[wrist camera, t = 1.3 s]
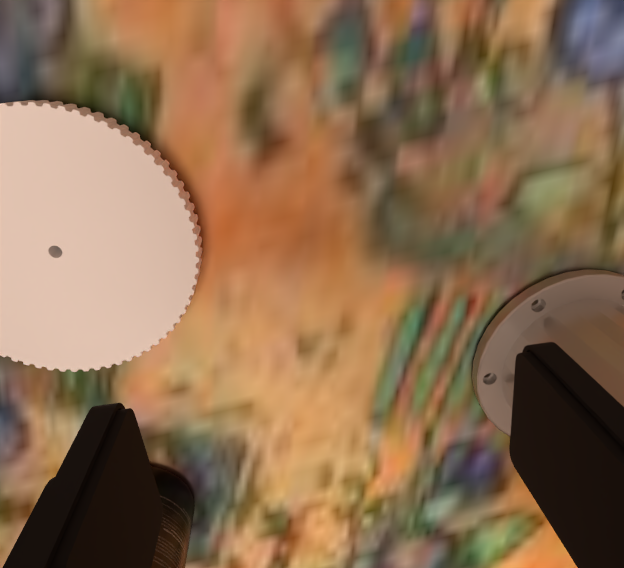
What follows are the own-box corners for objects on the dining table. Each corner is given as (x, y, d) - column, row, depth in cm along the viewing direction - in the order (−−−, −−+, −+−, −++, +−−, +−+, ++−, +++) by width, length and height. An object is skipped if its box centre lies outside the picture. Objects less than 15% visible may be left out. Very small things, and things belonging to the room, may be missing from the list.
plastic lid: (217, 338, 30) (213, 361, 28) (-22, 357, 29) (-46, 381, 27) (185, 92, 25) (177, 94, 22) (-111, 105, 24) (-152, 109, 21)
